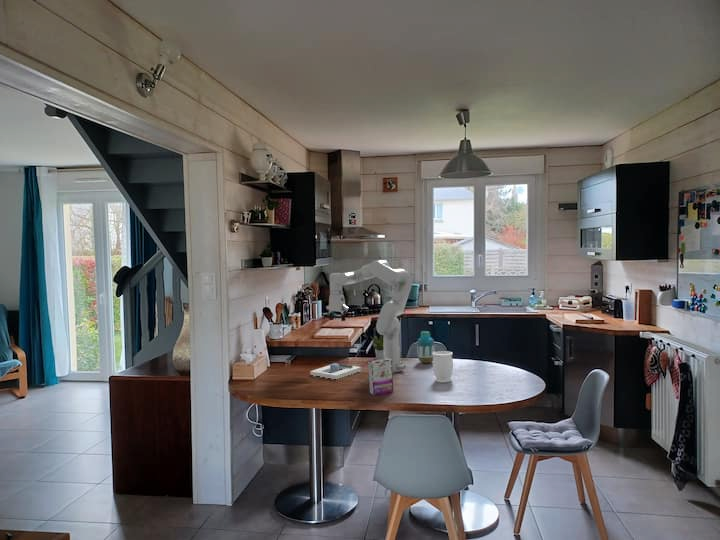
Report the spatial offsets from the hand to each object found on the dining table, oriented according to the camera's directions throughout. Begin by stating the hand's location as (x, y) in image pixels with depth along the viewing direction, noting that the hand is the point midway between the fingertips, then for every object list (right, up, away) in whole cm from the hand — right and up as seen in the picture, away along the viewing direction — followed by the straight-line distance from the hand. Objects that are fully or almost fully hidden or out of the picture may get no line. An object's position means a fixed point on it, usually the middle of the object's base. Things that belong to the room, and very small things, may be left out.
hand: (337, 320), depth 307 cm
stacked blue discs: (-1, -29, -19) cm, 35 cm away
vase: (+55, -26, -2) cm, 61 cm away
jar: (+58, -28, -44) cm, 78 cm away
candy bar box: (+25, -30, -61) cm, 72 cm away
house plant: (+26, -27, +15) cm, 40 cm away
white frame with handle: (0, -29, -18) cm, 34 cm away
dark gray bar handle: (+4, -26, -13) cm, 30 cm away
